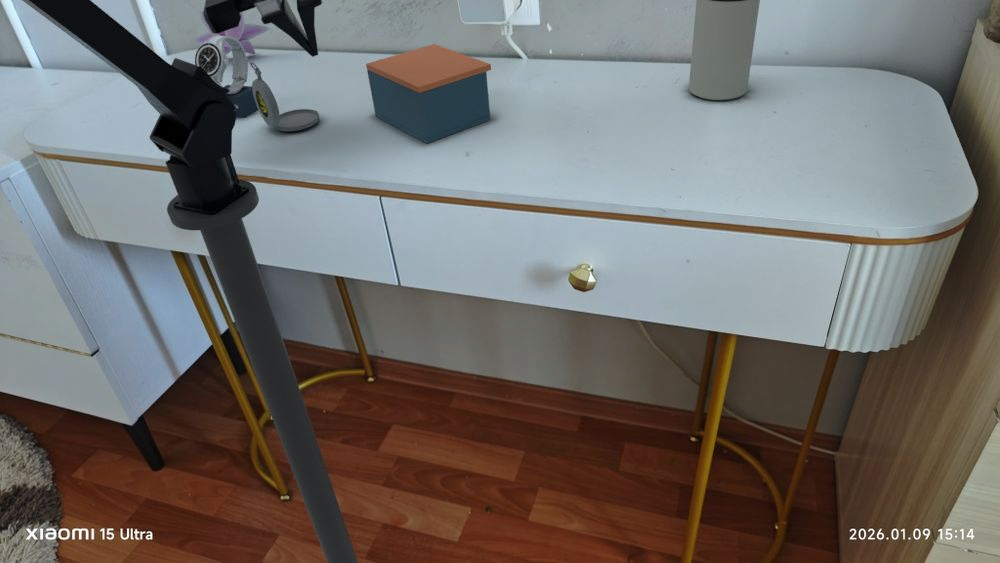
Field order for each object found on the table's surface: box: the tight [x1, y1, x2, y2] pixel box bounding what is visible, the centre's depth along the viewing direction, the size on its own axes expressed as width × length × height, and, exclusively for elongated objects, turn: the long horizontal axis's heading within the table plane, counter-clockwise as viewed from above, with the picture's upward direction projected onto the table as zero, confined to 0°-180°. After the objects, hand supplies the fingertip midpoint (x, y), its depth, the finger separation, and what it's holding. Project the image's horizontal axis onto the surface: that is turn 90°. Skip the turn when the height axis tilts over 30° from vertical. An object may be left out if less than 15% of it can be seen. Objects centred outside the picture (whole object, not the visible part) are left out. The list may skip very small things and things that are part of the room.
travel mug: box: [688, 0, 761, 101], centre depth 92 cm, size 8×8×18 cm
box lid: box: [365, 43, 492, 93], centre depth 93 cm, size 11×14×1 cm
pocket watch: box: [249, 61, 320, 132], centre depth 96 cm, size 8×8×10 cm
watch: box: [194, 36, 259, 118], centre depth 102 cm, size 6×8×11 cm
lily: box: [192, 10, 271, 58], centre depth 123 cm, size 12×12×10 cm
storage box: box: [366, 69, 491, 144], centre depth 95 cm, size 11×14×7 cm
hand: (315, 54), depth 86 cm, fingers closed
